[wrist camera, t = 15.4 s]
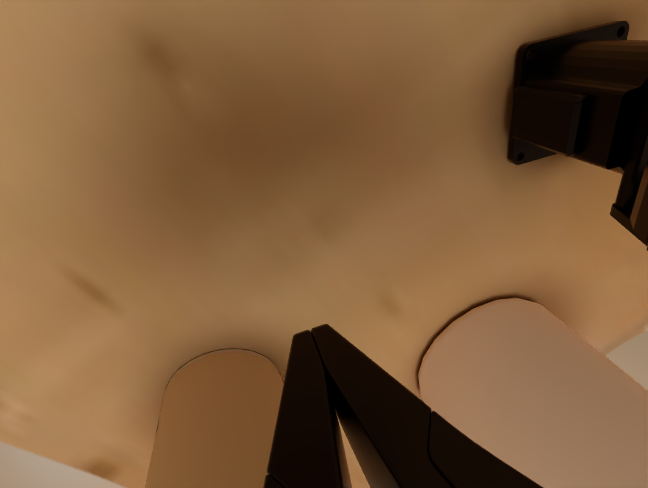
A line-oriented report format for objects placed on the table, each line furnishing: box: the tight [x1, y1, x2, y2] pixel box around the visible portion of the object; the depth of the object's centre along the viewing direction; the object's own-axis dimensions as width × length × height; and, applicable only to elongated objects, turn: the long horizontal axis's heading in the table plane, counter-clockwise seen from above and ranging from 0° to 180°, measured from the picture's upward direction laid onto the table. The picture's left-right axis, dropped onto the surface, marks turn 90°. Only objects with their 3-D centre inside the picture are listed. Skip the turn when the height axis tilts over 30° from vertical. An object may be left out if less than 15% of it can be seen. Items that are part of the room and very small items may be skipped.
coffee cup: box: [145, 349, 284, 488], centre depth 20 cm, size 9×9×12 cm
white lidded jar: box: [418, 298, 648, 488], centre depth 23 cm, size 12×12×20 cm
